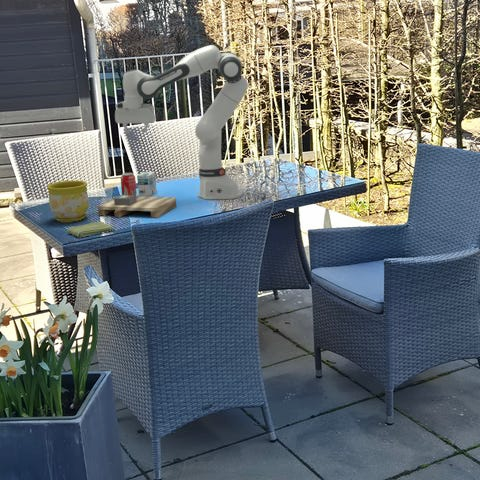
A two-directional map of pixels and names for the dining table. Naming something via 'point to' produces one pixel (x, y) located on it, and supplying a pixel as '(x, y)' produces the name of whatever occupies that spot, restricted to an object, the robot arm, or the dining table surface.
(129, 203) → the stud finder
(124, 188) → the soda can
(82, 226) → the washcloth
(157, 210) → the wooden pallet
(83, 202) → the flowerpot
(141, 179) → the light bulb box
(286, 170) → the dining table surface
